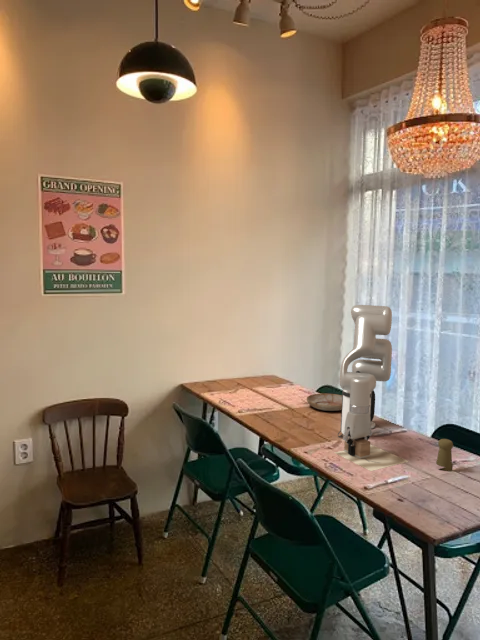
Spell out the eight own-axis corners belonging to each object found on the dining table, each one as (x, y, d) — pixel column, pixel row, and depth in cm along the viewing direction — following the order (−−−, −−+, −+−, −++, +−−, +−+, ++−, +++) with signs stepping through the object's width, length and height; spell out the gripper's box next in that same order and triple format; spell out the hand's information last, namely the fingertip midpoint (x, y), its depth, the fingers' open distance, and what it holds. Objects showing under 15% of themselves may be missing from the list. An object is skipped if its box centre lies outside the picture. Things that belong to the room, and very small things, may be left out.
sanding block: (344, 451, 199) (344, 436, 198) (353, 449, 201) (354, 434, 201) (360, 459, 191) (360, 443, 190) (369, 456, 194) (370, 441, 193)
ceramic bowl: (297, 404, 270) (298, 395, 270) (333, 400, 281) (333, 391, 280) (322, 416, 250) (322, 406, 249) (359, 411, 260) (360, 402, 259)
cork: (438, 463, 193) (440, 436, 191) (454, 467, 189) (456, 439, 188) (433, 468, 188) (435, 440, 187) (449, 472, 184) (451, 444, 183)
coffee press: (375, 445, 210) (379, 375, 207) (337, 441, 214) (340, 373, 210) (373, 432, 227) (376, 367, 224) (337, 429, 230) (340, 365, 227)
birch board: (333, 456, 197) (333, 452, 197) (370, 448, 207) (370, 444, 207) (370, 475, 180) (370, 471, 180) (408, 465, 190) (409, 461, 190)
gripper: (368, 403, 202) (365, 447, 204) (336, 409, 193) (333, 454, 195) (382, 408, 195) (379, 453, 197) (349, 414, 186) (347, 461, 189)
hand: (356, 453), depth 196 cm, fingers closed on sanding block, 5 cm apart
